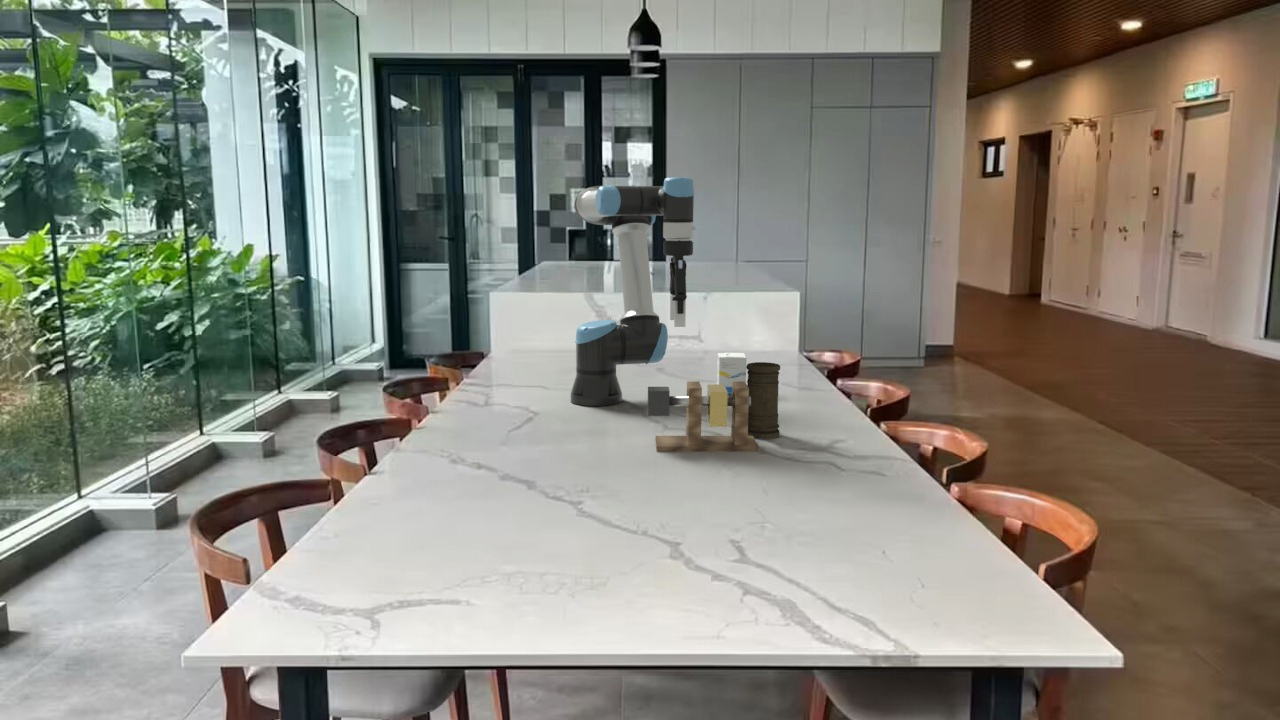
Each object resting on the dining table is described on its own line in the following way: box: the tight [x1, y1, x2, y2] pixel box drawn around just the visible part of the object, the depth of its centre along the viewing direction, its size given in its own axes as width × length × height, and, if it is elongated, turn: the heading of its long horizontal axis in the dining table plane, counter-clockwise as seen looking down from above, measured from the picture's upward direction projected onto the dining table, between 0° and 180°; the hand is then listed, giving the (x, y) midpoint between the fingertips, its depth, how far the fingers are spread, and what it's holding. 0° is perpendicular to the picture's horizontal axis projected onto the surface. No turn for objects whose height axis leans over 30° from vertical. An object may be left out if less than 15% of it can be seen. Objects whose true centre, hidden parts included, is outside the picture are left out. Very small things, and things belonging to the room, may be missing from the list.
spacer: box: [706, 384, 729, 428], centre depth 220 cm, size 4×8×8 cm, turn 1°
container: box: [746, 361, 781, 440], centre depth 231 cm, size 9×9×18 cm
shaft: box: [647, 386, 751, 417], centre depth 220 cm, size 24×5×6 cm, turn 91°
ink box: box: [716, 352, 747, 396], centre depth 283 cm, size 9×8×12 cm
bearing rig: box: [654, 380, 760, 452], centre depth 221 cm, size 24×10×15 cm, turn 91°
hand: (677, 323), depth 236 cm, fingers open, 13 cm apart
